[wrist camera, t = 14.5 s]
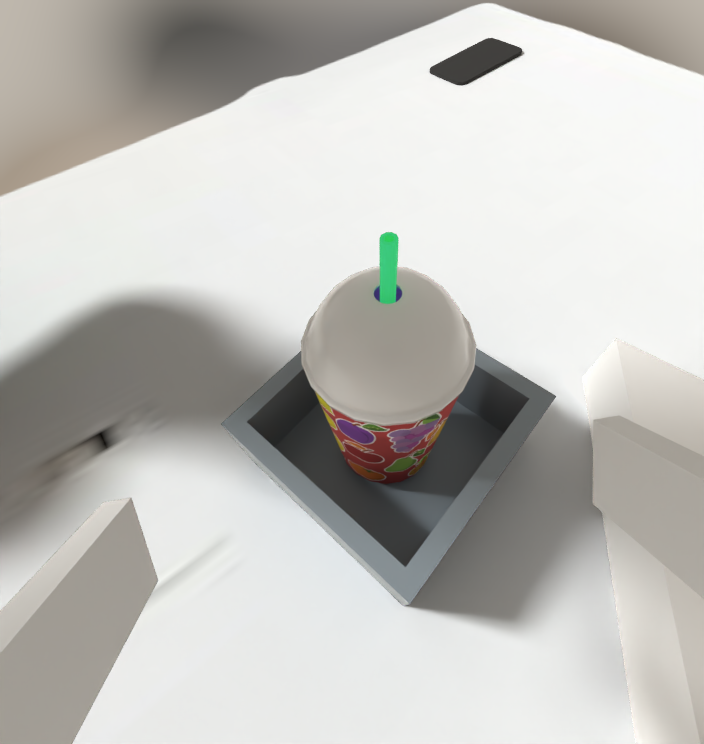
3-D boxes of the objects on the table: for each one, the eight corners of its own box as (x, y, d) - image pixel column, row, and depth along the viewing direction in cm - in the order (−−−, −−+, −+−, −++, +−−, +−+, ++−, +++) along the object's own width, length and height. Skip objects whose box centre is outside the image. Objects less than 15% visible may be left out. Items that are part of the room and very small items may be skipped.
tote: (251, 459, 32) (221, 424, 26) (373, 337, 37) (372, 285, 31) (403, 606, 26) (409, 604, 20) (523, 437, 32) (556, 396, 26)
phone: (426, 68, 63) (489, 36, 68) (425, 74, 64) (488, 42, 68) (461, 84, 60) (525, 49, 64) (460, 90, 61) (523, 55, 65)
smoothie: (407, 382, 34) (434, 144, 17) (460, 470, 30) (569, 276, 12) (315, 421, 32) (241, 207, 15) (357, 519, 28) (321, 377, 11)
